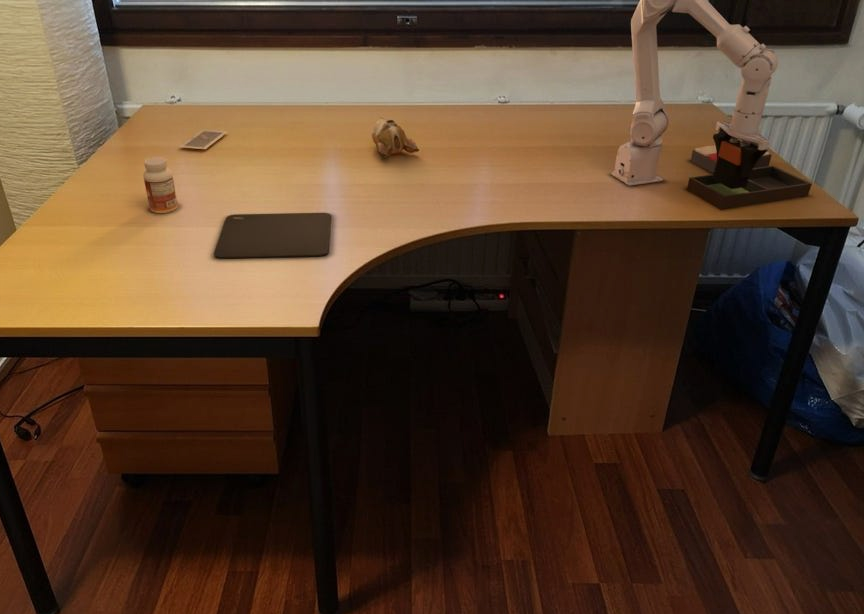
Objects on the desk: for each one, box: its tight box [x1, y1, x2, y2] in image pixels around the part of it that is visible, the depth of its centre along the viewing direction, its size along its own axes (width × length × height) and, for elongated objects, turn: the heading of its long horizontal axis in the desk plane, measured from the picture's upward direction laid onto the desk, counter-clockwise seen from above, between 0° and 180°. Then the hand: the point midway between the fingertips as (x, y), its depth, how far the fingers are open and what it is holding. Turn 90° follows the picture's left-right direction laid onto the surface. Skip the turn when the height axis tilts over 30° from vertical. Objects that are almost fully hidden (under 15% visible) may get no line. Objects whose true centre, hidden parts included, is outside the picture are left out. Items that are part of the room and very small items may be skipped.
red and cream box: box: [690, 144, 772, 174], centre depth 186 cm, size 11×4×15 cm
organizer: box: [686, 165, 813, 211], centre depth 171 cm, size 24×12×3 cm, turn 108°
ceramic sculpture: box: [371, 116, 420, 158], centre depth 194 cm, size 11×9×15 cm
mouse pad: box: [213, 212, 332, 259], centre depth 155 cm, size 23×20×1 cm
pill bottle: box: [143, 156, 178, 214], centre depth 164 cm, size 6×6×11 cm
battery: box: [712, 137, 750, 189], centre depth 166 cm, size 4×7×10 cm, turn 19°
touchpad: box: [178, 128, 229, 150], centre depth 203 cm, size 8×15×2 cm, turn 166°
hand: (732, 171), depth 167 cm, fingers closed on battery, 7 cm apart
